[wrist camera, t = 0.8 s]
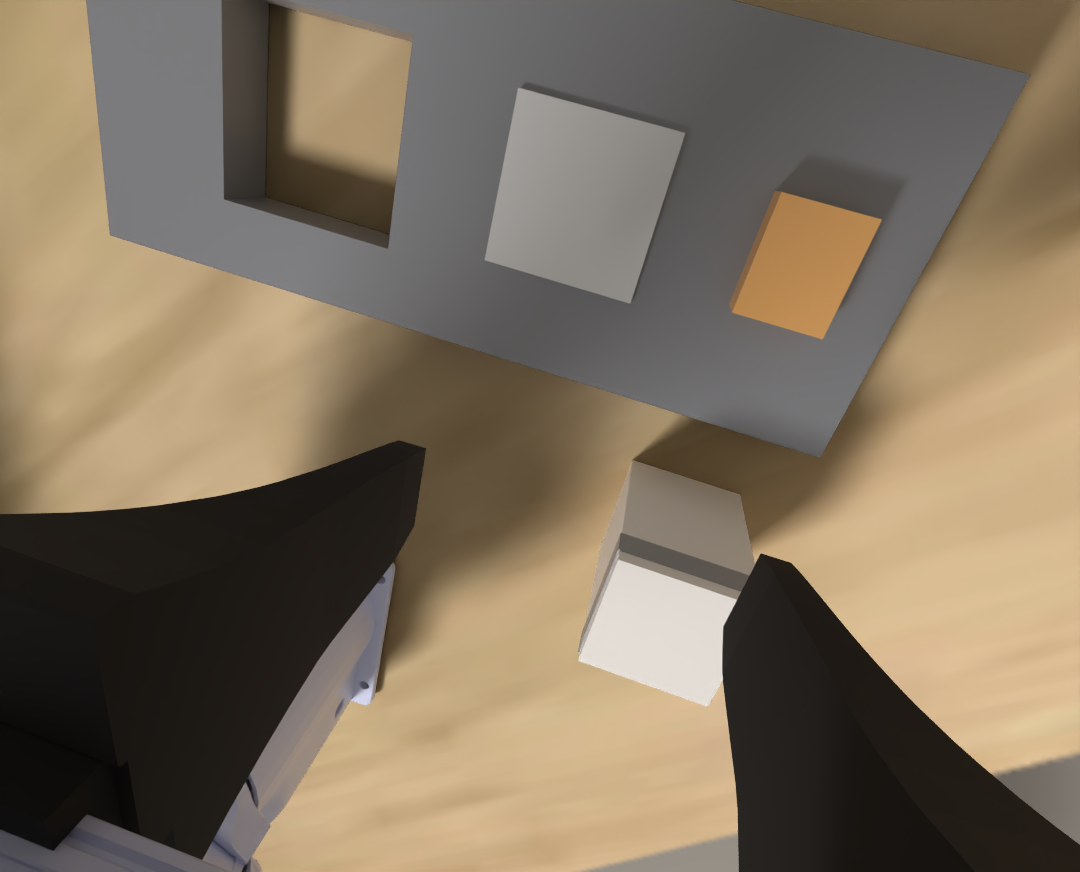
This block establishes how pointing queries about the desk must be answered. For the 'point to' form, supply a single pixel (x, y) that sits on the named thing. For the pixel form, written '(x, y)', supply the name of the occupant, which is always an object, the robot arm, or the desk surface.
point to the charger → (667, 583)
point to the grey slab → (580, 185)
